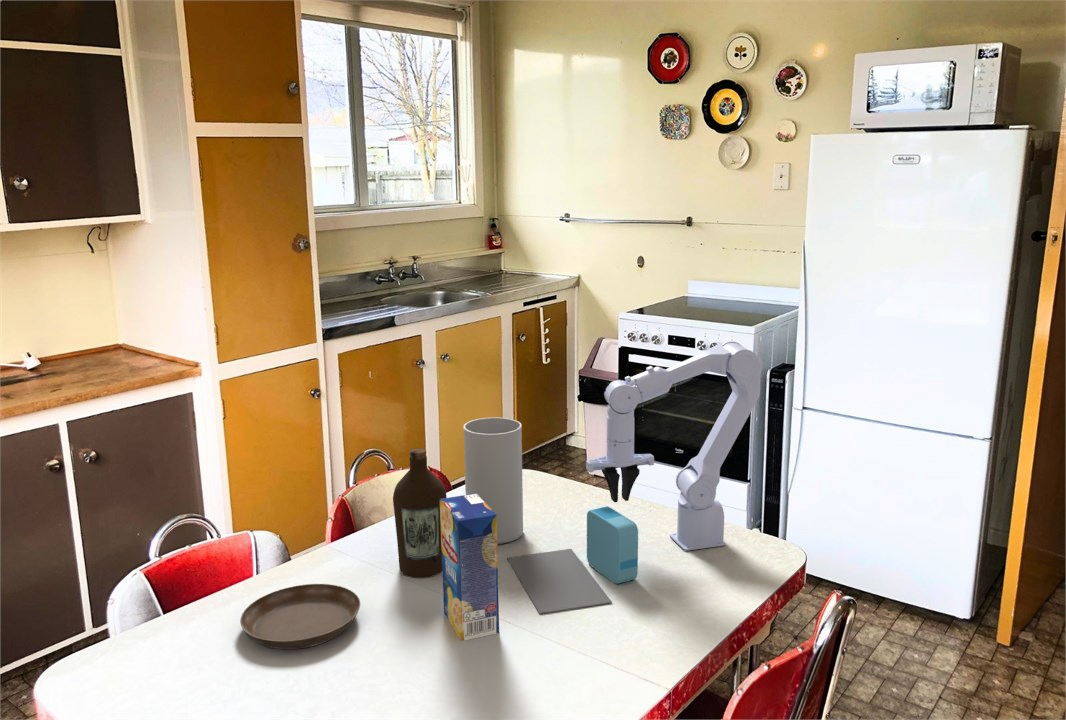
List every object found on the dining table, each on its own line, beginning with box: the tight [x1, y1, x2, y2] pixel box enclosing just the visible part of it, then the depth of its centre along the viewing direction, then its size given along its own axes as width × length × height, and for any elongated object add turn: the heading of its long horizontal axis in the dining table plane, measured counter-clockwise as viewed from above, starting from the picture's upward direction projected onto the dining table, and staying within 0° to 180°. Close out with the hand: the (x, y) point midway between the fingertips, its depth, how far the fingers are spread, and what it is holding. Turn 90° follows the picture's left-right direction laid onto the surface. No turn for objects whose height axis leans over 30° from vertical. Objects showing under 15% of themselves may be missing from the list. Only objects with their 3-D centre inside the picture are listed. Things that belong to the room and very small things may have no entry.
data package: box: [586, 506, 639, 585], centre depth 171 cm, size 12×4×12 cm, turn 28°
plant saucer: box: [239, 583, 361, 650], centre depth 153 cm, size 21×21×3 cm
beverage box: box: [440, 493, 500, 642], centre depth 151 cm, size 7×11×22 cm, turn 22°
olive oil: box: [392, 448, 448, 579], centre depth 172 cm, size 11×11×25 cm
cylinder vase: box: [463, 417, 524, 545], centre depth 188 cm, size 12×12×25 cm
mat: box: [506, 548, 613, 615], centre depth 169 cm, size 14×24×1 cm, turn 16°
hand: (619, 499), depth 182 cm, fingers closed
